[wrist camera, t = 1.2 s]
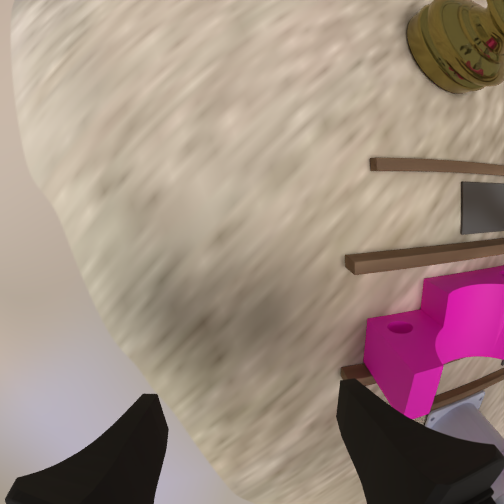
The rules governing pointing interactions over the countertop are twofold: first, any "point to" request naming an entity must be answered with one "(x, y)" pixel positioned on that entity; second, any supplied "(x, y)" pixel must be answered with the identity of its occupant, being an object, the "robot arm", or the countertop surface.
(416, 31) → the gold tapered round piece
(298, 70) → the countertop surface
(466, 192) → the wooden slat rack
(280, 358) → the countertop surface
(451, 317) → the magenta curved bracket
